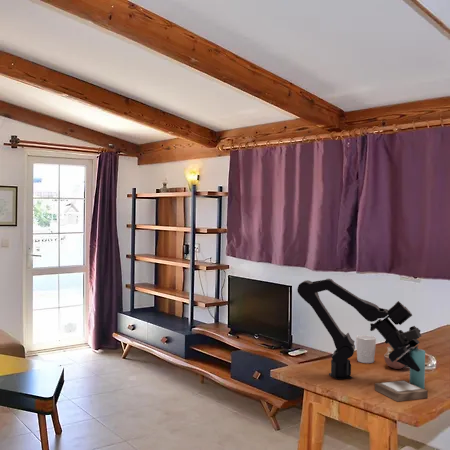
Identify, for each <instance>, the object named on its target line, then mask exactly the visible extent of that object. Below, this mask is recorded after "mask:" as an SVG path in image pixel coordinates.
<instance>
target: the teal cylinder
mask: <svg viewBox="0 0 450 450" xmlns="http://www.w3.org/2000/svg"><path fill="white" fill-rule="evenodd" d="M410 350H411V356H412V358H413V359H414V361H415V362H416V364H417V365H418V367H419V368H420V371H419V372H417V371H415V370H413V369H411V368H409V383H411V384H413V385H416V386H418V387H420V388H422V389H425V387H426V386H425V383H426V382H425V381H426V350H424V349H420V348H418V349H410ZM425 390H426V389H425Z"/></svg>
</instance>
